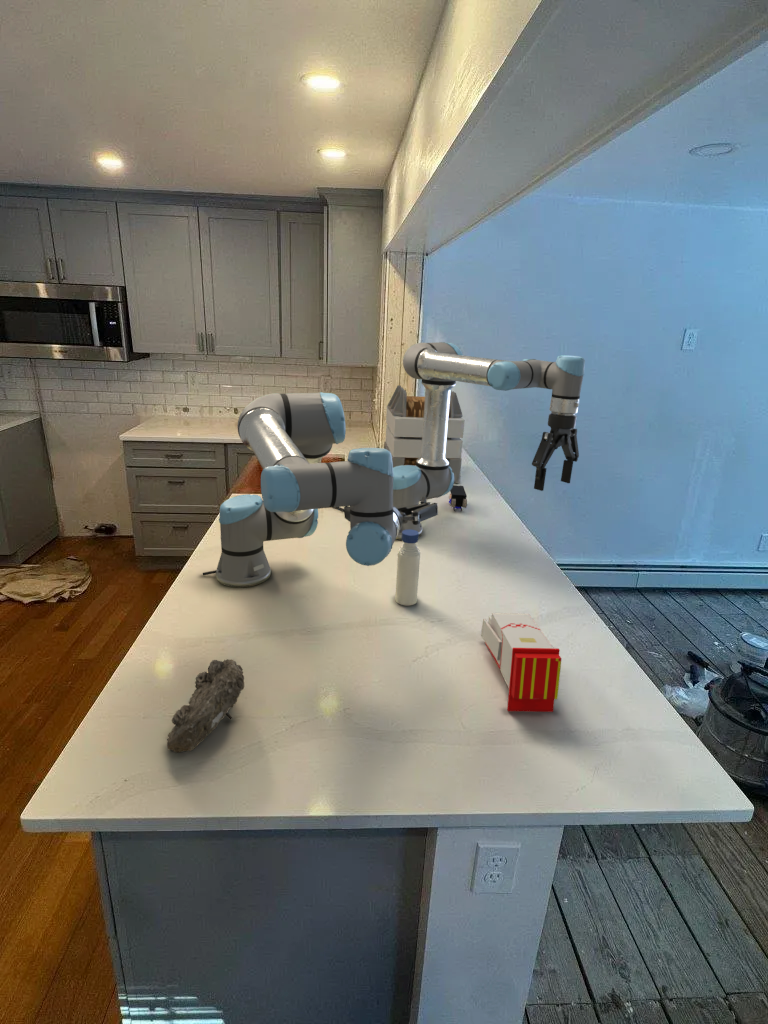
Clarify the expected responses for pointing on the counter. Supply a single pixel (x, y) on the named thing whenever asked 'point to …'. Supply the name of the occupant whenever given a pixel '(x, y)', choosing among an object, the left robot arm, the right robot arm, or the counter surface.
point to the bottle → (407, 574)
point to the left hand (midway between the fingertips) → (395, 503)
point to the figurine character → (458, 497)
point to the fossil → (206, 705)
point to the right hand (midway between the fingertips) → (552, 485)
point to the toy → (523, 661)
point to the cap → (410, 536)
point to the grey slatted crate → (420, 430)
